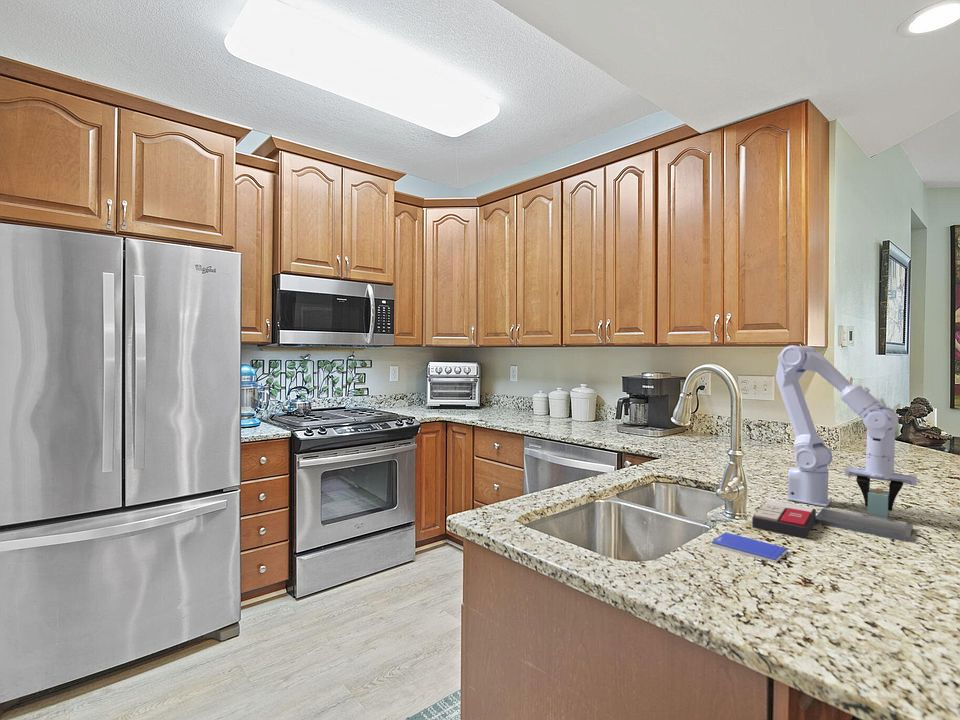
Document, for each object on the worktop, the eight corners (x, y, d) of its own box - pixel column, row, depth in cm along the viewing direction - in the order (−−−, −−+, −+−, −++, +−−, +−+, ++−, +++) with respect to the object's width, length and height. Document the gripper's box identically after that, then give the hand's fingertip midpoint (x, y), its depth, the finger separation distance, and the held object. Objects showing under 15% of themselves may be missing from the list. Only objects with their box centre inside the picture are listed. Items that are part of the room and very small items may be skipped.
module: (867, 517, 130) (868, 489, 130) (870, 511, 135) (870, 485, 134) (887, 520, 127) (888, 492, 127) (889, 515, 132) (890, 488, 132)
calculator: (751, 514, 121) (766, 497, 133) (751, 531, 122) (765, 513, 133) (806, 524, 114) (816, 506, 126) (805, 543, 114) (815, 523, 126)
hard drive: (711, 540, 110) (776, 558, 101) (725, 531, 115) (787, 547, 107) (711, 548, 110) (775, 566, 101) (725, 538, 116) (787, 554, 107)
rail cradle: (813, 522, 125) (814, 512, 125) (823, 511, 134) (823, 502, 134) (909, 541, 113) (909, 530, 113) (912, 528, 122) (913, 518, 122)
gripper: (843, 453, 133) (841, 505, 133) (916, 461, 123) (914, 518, 123) (847, 449, 138) (846, 499, 138) (918, 457, 128) (916, 511, 128)
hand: (878, 507), depth 131 cm, fingers closed on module, 4 cm apart
